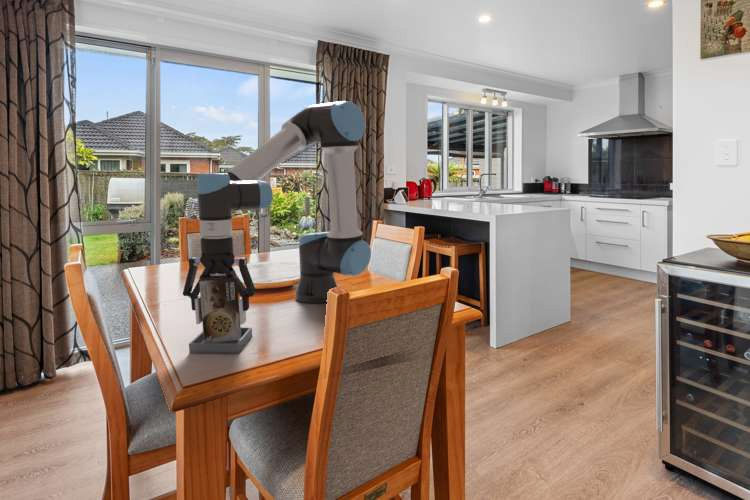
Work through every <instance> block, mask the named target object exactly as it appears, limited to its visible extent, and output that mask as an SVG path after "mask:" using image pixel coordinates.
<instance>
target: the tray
mask: <svg viewBox="0 0 750 500" xmlns="http://www.w3.org/2000/svg"><path fill="white" fill-rule="evenodd" d="M240 327H241V339H233V340H225V341H217V342H209V343H204V338H203V330H202V332H200V333H199V334H198V335H197V336H196V337H195V338H193V339H192V340H191V341H190V342H189V343H188V348H189V354H196V355H197V354H198V355H200V354H206V355H207V354H213V355H217V354H220V355H221V354H222V355H224V354H225V355H239V354H240V353H241V351H242V350H243V349H244V348H245V346H246V345H247V344H248V342H249V341H250V340H251V339H252V338H253V328H252V326H251V327H248V326H247V327H242V326H240Z"/></svg>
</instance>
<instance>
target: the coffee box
mask: <svg viewBox="0 0 750 500" xmlns="http://www.w3.org/2000/svg"><path fill="white" fill-rule="evenodd" d="M235 273H236V276H235V277H234V278H233V277H227V276H226V275H225V274H218V273H216V274H210V275H209V276H207V277H201V275H202V274H200V275H199V278H198V281H199V284H200V293H199V295H200V297H201V310H202V322H201V324H202V331H203V338H204V343H209V342H217V341H225V340H233V339H241V327H242V326H241V324H240V313H239V299H240V298H239V296H240V295H239V293H238V279H237V276H238V274H237V272H236V271H235Z"/></svg>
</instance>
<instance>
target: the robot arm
mask: <svg viewBox="0 0 750 500" xmlns="http://www.w3.org/2000/svg"><path fill="white" fill-rule="evenodd" d="M365 133H366V119H365V116H364V113H363V111H362V110H361V109H360V108H359V106H358V105H357V104H355V103H354V102H352V101H348V100H342V101H341V100H339V101H332V102H331V101H330V102H325V103H316V104H312V105H309V106H307V107H305V108H304V109H302V110H300V111H299V112H297V113H296V114H295V115H293V116H292V117H290V118H289V119H287V120H286V121H285V122H284V123H283V124H282V126H281V130H279V131H278V132H277V133H276V134H274V135H273V136H272V137H270V138H269V139H267V140H266V141H265V142H264V143H263V144H261V145H260V146H258V147H257V148H256V149H254V150H253V151H251V153H250V154H248V155H247V156H246V157H244V158H243V159H242V160H240V161H239V162H238V163H236V164H235V165H234V166H232V167H231V168H230V169H228V170H227V171H226V172H223V173H220V172H215V173H214V172H211V173H210V172H207V173H206V172H202V173H200V174H198V175H197V178H196V179H197V180H196V181H197V182H196V194H197V202H198V205H197V207H198V216H199V217H198V220H199V233H200V234H199V235H200V236H201V238H200V252H201V256H200V257H198V256H197V257H196V256H193V257H191V258H189V259H188V267H189V268H188V272H187V275H186V278H185V283H184V287H183V291H182V296H184V297H188V298H190V303H191V310H192V311H195V323H196V325H200V324H202V310H201V297H200V296H199V295H200V284H199V280H198V281H197V282H196V284H195V280H196V275H197V273H198V266H200V263H201V264H202V266H203V267H204V269H203V271H202V273H201V274H200V275H201V277H207V276H209V275H210V274H225V275H226V276H227V277H233V278H234V277H235V276H236V275H237V272H236V270H235V268H234V267H233V265H234V264H236V266H237V267H238V268H239V273H240V275H241V277H242V280H243V281H242V280H241V279H240V277H239V276H238V275H237V279H238V295H239V296H240V298H239V313H240V325H244V324H245V323H246V322H247V314H246V313H247V311H248V310H249V309H250V298H251V297H253V296H254V295H256V294H257V290H256V287H255V285H254V281H253V279H252V276H251V274H250V270H249V268H248V262H247V261H248V259H247V257H246V256H243V257H236V256H235V254H234V239H233V237H232V235H233V222H232V221H233V220H232V218H233V217H232V212H236V211H250V210H251V211H253V210H258V211H259V210H262V209H268V208H269V206H271V204H272V202H273V199H274V198H273V197H274V196H273V195H274V194H273V189H272V187H271V184H269V183H268V182H267V181H265V180H261V179H264V177H266V176H267V175H268V174H269V173H270V172H271V171H273V170H274V169H275V168H277V166H279V165H280V164H281V163H282V162H284V161H285V160H286V159H288V157H290V156H291V155H292V154H294V153H295V152H296V151H298V150H299V151H302V150H304V149H305V148H306V147H308V146H309V145H312V144H316V143H320V149H321V150H322V151H323V152H324V153H325V156H326V168H327V171H326V172H327V184H328V185H327V186H328V188H327V189H328V200H329V201H328V202H329V203H328V205H329V218H330V219H329V220H330V230H329V231H320V232H312V233H311V232H310V233H303V234H302V235H301V236H300V238H299V246H298V250H299V272H300V274H299V279H298V282H297V286H296V290H295V300H296V301H298V302H301V303H304V304H305V303H306V304H325V303H326V300H327V292H328V291H329V289H331V288H334V287H338V285H337V281H336V277H335V274H340V275H343V276H352V277H354V276H356V277H357V276H359V275H361V274H362V273H364V271H366V269H367V267H368V266H369V265H370V262H371V258H372V249H371V246H370V244H369V243H368V242H367V241H365V240H364V237H363V234H364V233H363V231H362V230H360V229H359V227H358V211H357V191H356V170H355V151H356V150H357V149H358V148H359V140H361V139H362V138H363V136H364V134H365ZM235 272H236V273H235ZM243 282H244V284H243ZM194 284H195V285H194ZM193 287H194V288H193Z"/></svg>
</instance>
